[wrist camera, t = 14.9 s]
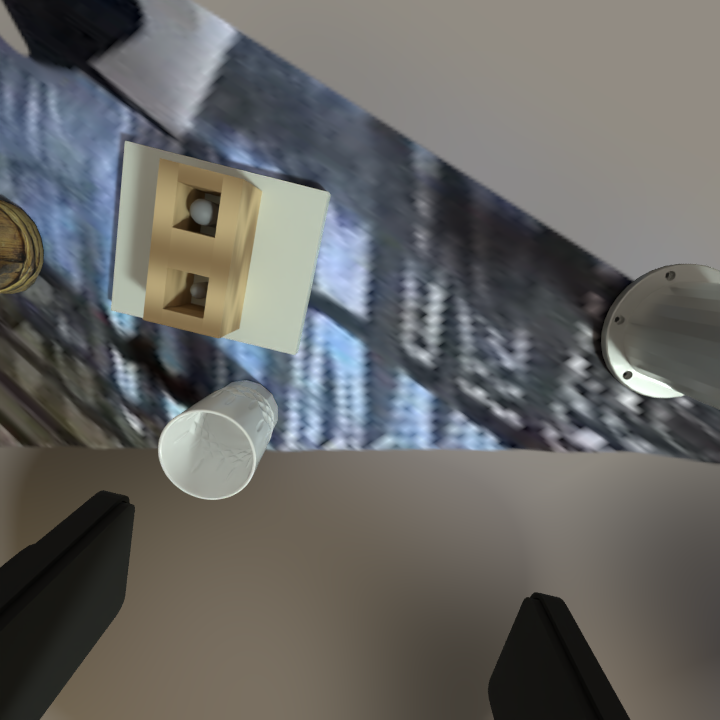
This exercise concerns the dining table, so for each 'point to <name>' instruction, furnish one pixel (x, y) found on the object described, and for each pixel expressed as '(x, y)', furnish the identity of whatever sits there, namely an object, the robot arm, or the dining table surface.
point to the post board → (271, 243)
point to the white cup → (219, 440)
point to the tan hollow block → (200, 250)
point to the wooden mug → (18, 250)
